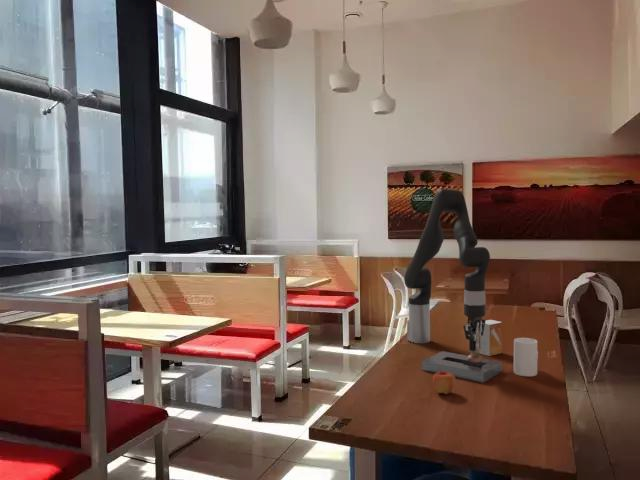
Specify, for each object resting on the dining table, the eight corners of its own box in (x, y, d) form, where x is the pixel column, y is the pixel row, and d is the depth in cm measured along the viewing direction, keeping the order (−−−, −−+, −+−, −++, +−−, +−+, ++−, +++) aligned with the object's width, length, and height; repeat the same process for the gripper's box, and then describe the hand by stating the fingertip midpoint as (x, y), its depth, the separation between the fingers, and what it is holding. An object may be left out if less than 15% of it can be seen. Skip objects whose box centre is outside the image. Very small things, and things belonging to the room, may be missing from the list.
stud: (465, 360, 194) (465, 328, 193) (471, 357, 197) (471, 325, 197) (478, 363, 190) (478, 330, 190) (484, 360, 194) (484, 327, 193)
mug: (538, 367, 199) (538, 336, 198) (537, 377, 188) (538, 344, 187) (514, 365, 202) (514, 334, 201) (513, 375, 191) (513, 342, 190)
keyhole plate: (422, 369, 199) (421, 360, 199) (442, 359, 211) (442, 351, 211) (483, 382, 184) (483, 372, 183) (501, 371, 196) (501, 361, 196)
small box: (489, 356, 215) (489, 324, 214) (477, 353, 220) (477, 321, 219) (502, 353, 219) (502, 321, 218) (490, 349, 224) (490, 319, 223)
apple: (451, 398, 170) (451, 374, 169) (429, 394, 174) (429, 370, 173) (458, 391, 176) (458, 367, 175) (437, 387, 180) (437, 364, 179)
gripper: (473, 298, 200) (473, 343, 201) (456, 304, 190) (456, 352, 191) (492, 300, 195) (492, 346, 196) (476, 306, 185) (476, 355, 186)
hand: (474, 349), depth 194 cm, fingers closed on stud, 3 cm apart
